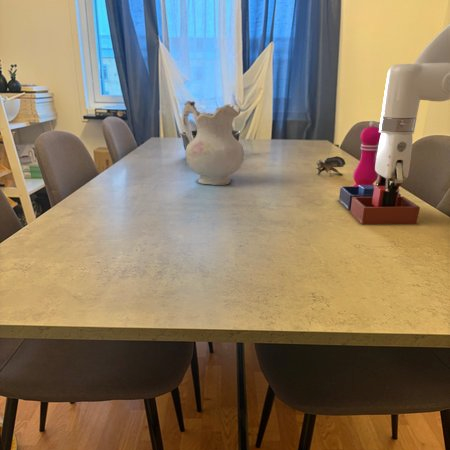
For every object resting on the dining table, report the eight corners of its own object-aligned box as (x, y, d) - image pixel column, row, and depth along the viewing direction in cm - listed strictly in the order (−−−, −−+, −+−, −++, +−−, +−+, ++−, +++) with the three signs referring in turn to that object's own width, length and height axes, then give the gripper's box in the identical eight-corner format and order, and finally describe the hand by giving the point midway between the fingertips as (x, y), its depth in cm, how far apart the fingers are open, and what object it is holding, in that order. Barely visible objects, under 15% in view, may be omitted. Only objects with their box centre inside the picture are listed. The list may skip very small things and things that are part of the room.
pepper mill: (351, 192, 131) (360, 121, 122) (351, 187, 137) (359, 119, 128) (376, 193, 129) (387, 122, 120) (374, 188, 136) (385, 119, 126)
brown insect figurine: (323, 174, 149) (348, 168, 149) (317, 155, 150) (342, 149, 150) (317, 182, 157) (341, 177, 157) (312, 164, 157) (336, 158, 158)
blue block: (373, 201, 120) (375, 184, 118) (378, 205, 116) (381, 188, 114) (356, 201, 120) (359, 184, 118) (361, 205, 116) (364, 188, 114)
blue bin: (384, 200, 123) (387, 185, 121) (398, 210, 114) (401, 194, 112) (338, 200, 123) (340, 186, 121) (348, 210, 114) (350, 195, 112)
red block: (389, 203, 108) (392, 185, 106) (395, 208, 104) (399, 189, 102) (371, 203, 108) (374, 185, 106) (377, 208, 104) (380, 189, 102)
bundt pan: (178, 152, 202) (177, 129, 198) (233, 150, 207) (233, 128, 202) (184, 162, 179) (183, 136, 175) (246, 159, 184) (246, 134, 179)
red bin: (400, 212, 112) (403, 196, 110) (416, 223, 103) (420, 207, 101) (350, 212, 112) (352, 196, 110) (361, 224, 103) (364, 207, 101)
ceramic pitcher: (172, 188, 143) (164, 106, 130) (192, 172, 158) (188, 97, 145) (234, 192, 137) (233, 107, 124) (250, 175, 153) (250, 98, 140)
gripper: (429, 130, 90) (412, 215, 99) (399, 122, 105) (386, 196, 114) (394, 130, 90) (380, 215, 99) (369, 122, 105) (358, 197, 114)
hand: (383, 204), depth 106 cm, fingers closed on red block, 4 cm apart
